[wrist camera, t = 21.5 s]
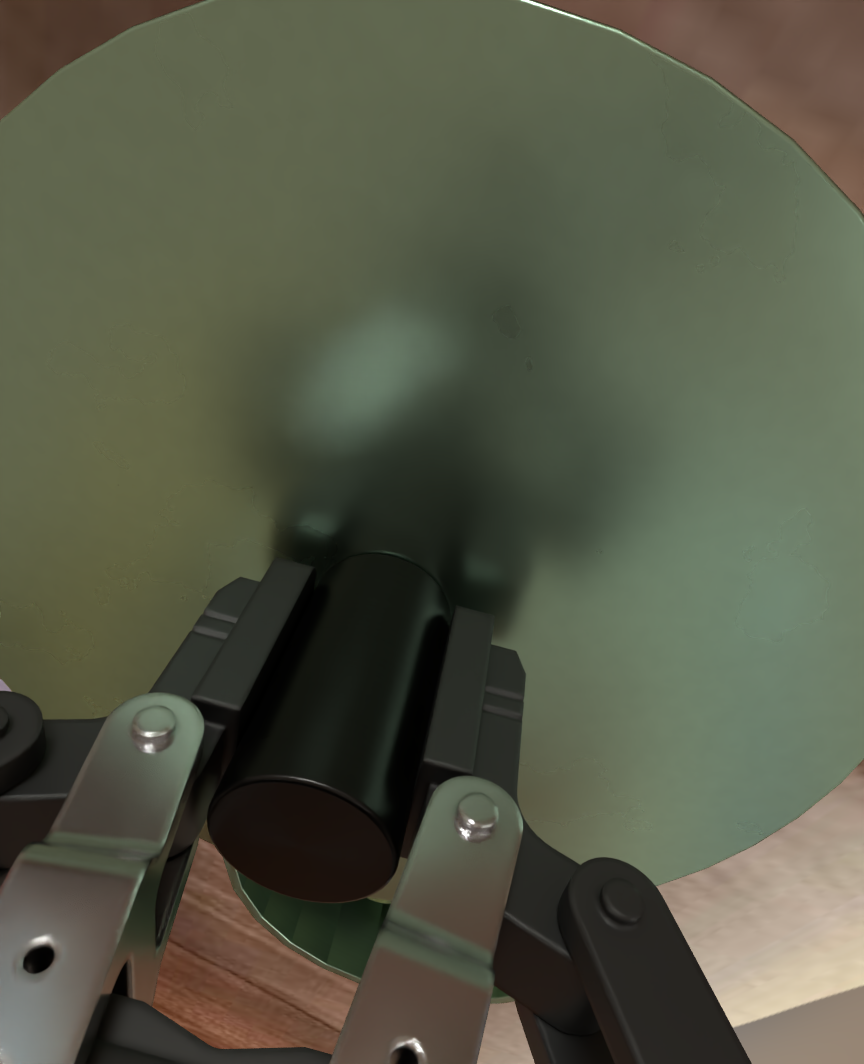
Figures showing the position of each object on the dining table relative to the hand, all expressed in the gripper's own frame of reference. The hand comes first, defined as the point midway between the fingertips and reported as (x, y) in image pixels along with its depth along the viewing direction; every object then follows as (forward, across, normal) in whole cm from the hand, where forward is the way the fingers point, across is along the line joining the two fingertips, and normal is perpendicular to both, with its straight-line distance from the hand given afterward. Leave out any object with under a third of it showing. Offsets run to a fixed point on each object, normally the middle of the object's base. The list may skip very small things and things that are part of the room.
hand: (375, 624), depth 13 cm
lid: (+1, 0, 0) cm, 1 cm away
